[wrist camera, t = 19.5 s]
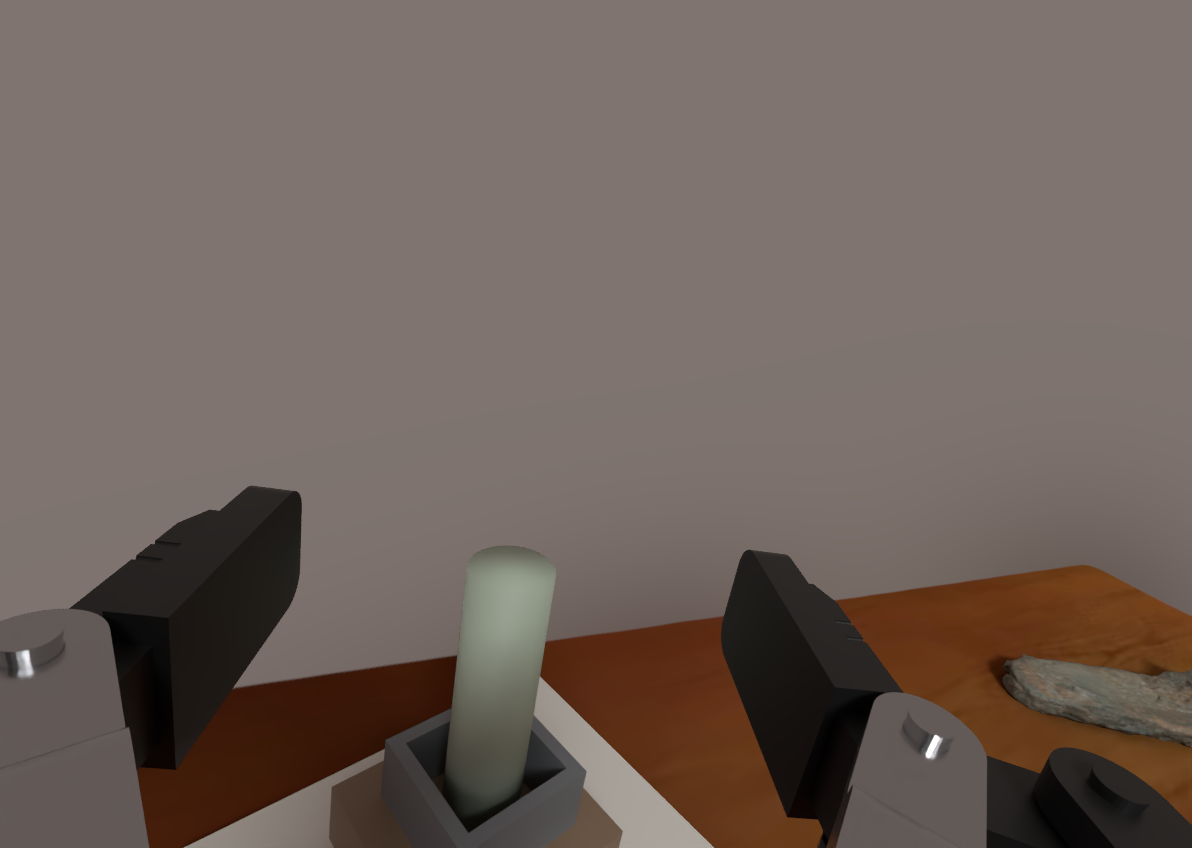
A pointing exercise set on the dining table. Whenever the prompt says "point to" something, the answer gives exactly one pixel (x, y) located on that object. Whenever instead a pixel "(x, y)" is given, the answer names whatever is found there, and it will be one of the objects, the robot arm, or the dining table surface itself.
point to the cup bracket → (430, 827)
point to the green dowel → (496, 680)
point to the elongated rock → (1105, 696)
